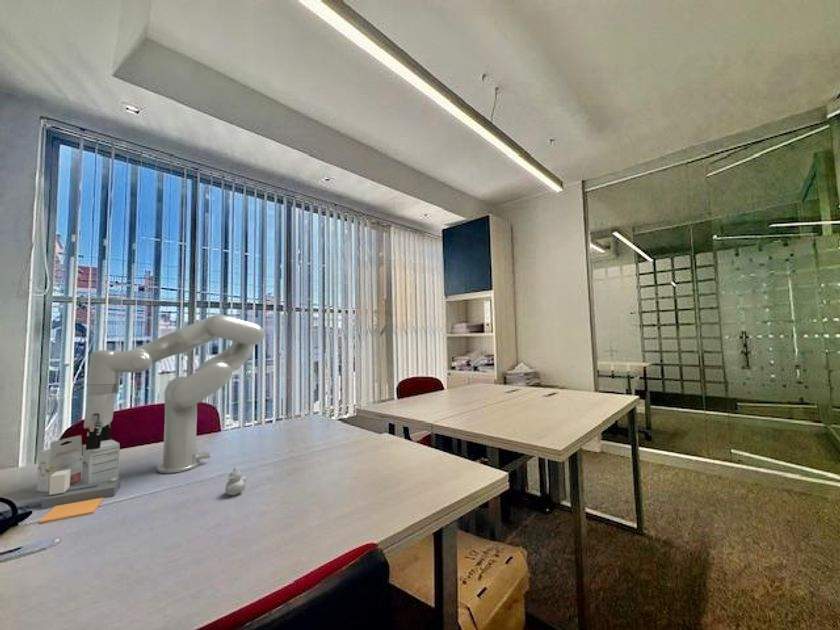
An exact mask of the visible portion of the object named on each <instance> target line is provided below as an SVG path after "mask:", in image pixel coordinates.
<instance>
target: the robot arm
mask: <svg viewBox="0 0 840 630" xmlns="http://www.w3.org/2000/svg"><path fill="white" fill-rule="evenodd" d="M218 338H221V339H225V340H227V341H232V343H231V345H230V346H229V347H228V348H226V349H225V350H223V351H222V352H220V353H218V354H217V355H215V356H213V357H211V358H210V359H208V360H205V361H204V362H203V363H202V364H200V365H199V366H198V368H197V371H195V372H194V373H192V374H191V375H188V376H178V377H175V378H173V379H172V380H170V381H169V382H168V383H167V384H166V387H165V390H164V397H163V398H164V425H163V426H164V427H163V428H164V429H163V431H164V432H163V451H162V452H163V456H162V457H163V458H162V463H160V464H159V465H158V466H157V467H156V471H157V473H160V474H175V473H181V472H185V471H189V470H191V469H194V468H196V467H198V466H199V465H201V460H202V459H210V458H211V452H209V451H208V452H207V451H203V452H202V451H201V452H199V451H198V448H196V447H197V425H198V423H197V422H198V404H199V403H200V402H202V401H204V400H205V399H207V398H208V397H210V396H211V395H213V394H215V393H216V392H217V391H218V390H220V389H222V388H223V387H224V386H225V385H227V384H228V383H229V381H230V380H231V378H232V377H233V372H234V371H236V370H237V369H239V368H240V367H241V366H243V365H244V364H245V363H247V362H248V360H249V359H250V358H251V356H252V354H253V352H254V349H255V346H256V345H259V344H260V343H261V342H263V339H264V338H265V331H264V329H263V328H262V326H260V325H259V324H258V323H255V322H254V323H253V322H250V321H247V320H243V319H239V318H236V317H233V316H228V315H224V314H215V315H211V316H208V317H205V318H203V319H201V320H199V321H195V322H193V323H192V324H189V325H186V326H185V327H181V328H180V329H176V330H175V331H174V330H173V332H169V333H167V334H166V335H164V336H161V337H158V338H156V339H154V340H152V341H149V342H146V343H144V344H142V345H139V346H136V347H135V348H132V349H130V350H127V351H125V350H124V351H119V350H111V349H109V350H103V349H102V350H95V351H93V352H91V354H90V355H89V356H90V357H89V367H88V377H87V378H88V379H87V389H86V396H87V397H88V400H87V404H86V408H85V409H86V410H85V414H84V415H85V417H84V422H83V428H84V429H87V434H86V441H85V445H86V450H90V449H99V448H100V445H101V441H105V440H111V429H112V428H111V426H112V425H111V424H112V423H111V422H112V421H113V418H114V412H115V410H114V409H115V395H116V394H119V393H120V383H121V381H120V379H121V373H128V374H129V373H130V374H138V373H143V372H145V371H147V370H148V369H150V368H151V366H152V364H156V363H157V362H159V361H161V360H164V359H167V358H170V357H173V356H175V355H181V354H184V353H187V352H190V351H192V350H195V349H196V348H199V347H201V346H203V345H206V344H207V343H210V342H212V341H214V340H216V339H218Z"/></svg>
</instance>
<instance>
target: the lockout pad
mask: <svg viewBox="0 0 840 630" xmlns="http://www.w3.org/2000/svg"><path fill="white" fill-rule="evenodd" d="M104 499H105V498H104V497H103V498H98V499H92V500H86V501H81V502H75V503H70V504H64V505H58V506H55V507H52V508H51V510H50V511H49V512H47V514H45V515H44V516H43V518H42V519H41V520H39V525H40V523H41V524H45V523H50V522H55V521H60V520H61V521H62V520H65V519H71V518H76V517H81V516H87V515H92V514H94V513H95V512H96V510H97V509H98V507H100V505H101V503H102V502H103V501H104Z"/></svg>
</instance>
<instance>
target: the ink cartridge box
mask: <svg viewBox="0 0 840 630" xmlns="http://www.w3.org/2000/svg"><path fill="white" fill-rule="evenodd" d="M82 438H83V437H82V434H80V435H79V434H78V435H75V436H71V437H66V438H62V439H59V440H58V439H57V440H55V441H54V440H53V441H51V442H50V444H49V447H50V448H49V449H45V450H40V451H38V456H37V458H38V459H37V478H36V479H37V482H36V483H37V484H36V485H37V486H36V487H37V488H36V492H42V493H43V492H44V493H49V488H50V476H51V475H52V474H54V473H55V472H56V471H63V470H70V469H71V473H70V485H74V484H77V483H79V482H81V478H82V457H83V443H82V442H83V439H82ZM66 442H69V443H66ZM65 443H66V444H65ZM62 444H63V445H62Z"/></svg>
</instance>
